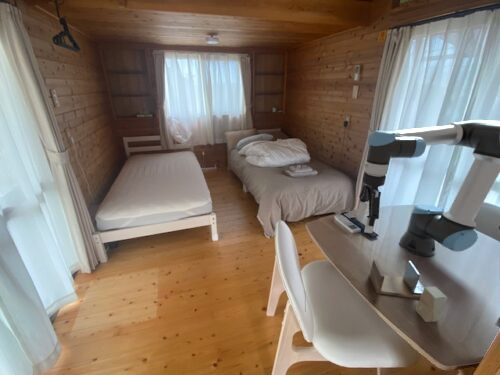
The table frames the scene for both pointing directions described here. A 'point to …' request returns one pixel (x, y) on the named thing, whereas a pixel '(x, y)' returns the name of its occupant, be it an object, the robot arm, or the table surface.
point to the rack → (389, 283)
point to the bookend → (413, 279)
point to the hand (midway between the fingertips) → (364, 223)
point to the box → (431, 304)
